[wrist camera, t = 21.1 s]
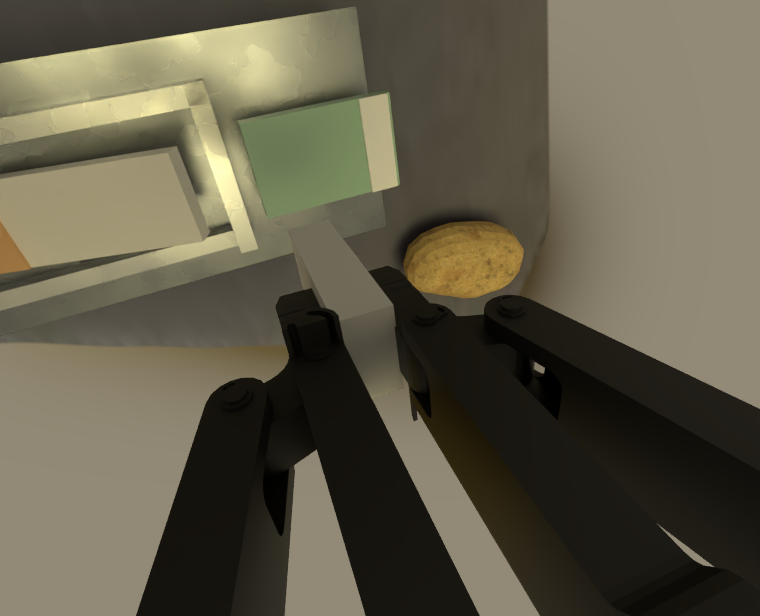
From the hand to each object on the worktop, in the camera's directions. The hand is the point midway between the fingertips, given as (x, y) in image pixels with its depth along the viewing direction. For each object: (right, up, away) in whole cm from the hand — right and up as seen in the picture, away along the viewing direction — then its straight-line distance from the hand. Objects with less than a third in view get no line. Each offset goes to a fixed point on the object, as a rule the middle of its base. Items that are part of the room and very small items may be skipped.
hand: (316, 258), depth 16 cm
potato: (+8, +4, +25) cm, 27 cm away
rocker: (-12, +3, +5) cm, 14 cm away
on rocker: (-1, +7, +8) cm, 10 cm away
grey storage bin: (-12, +8, +13) cm, 20 cm away
